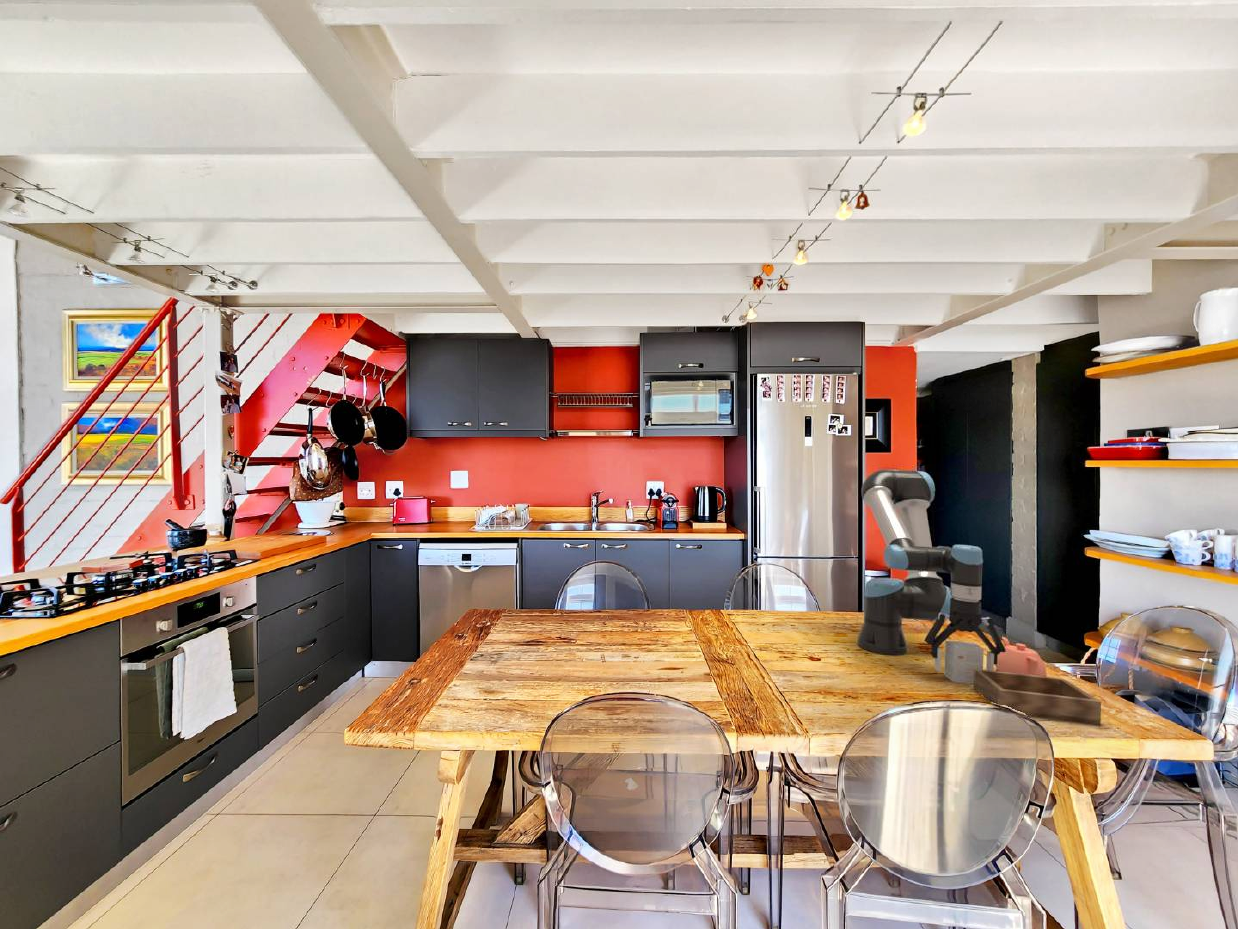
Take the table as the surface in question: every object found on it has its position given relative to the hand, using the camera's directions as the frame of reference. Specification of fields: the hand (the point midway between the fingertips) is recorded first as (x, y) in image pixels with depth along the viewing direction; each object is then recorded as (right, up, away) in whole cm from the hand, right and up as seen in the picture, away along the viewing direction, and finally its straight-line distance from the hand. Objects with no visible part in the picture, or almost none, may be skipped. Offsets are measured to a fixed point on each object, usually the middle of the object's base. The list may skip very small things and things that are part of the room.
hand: (963, 672), depth 154 cm
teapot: (+21, -4, +6) cm, 22 cm away
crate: (+8, -2, -16) cm, 18 cm away
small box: (0, -3, 0) cm, 2 cm away
